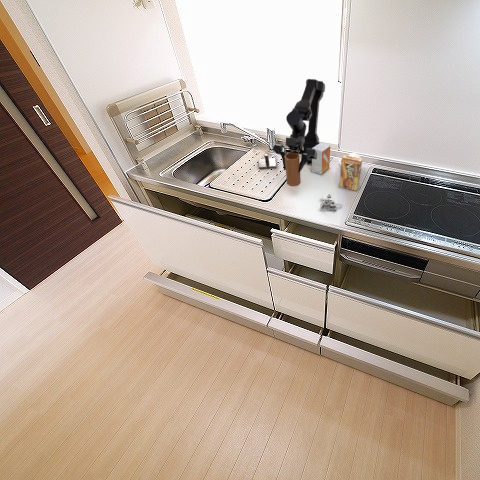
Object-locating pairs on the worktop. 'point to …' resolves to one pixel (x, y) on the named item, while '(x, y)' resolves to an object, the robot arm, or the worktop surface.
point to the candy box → (350, 172)
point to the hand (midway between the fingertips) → (291, 171)
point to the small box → (321, 158)
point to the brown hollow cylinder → (292, 169)
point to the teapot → (328, 205)
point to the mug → (351, 156)
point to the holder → (267, 163)
